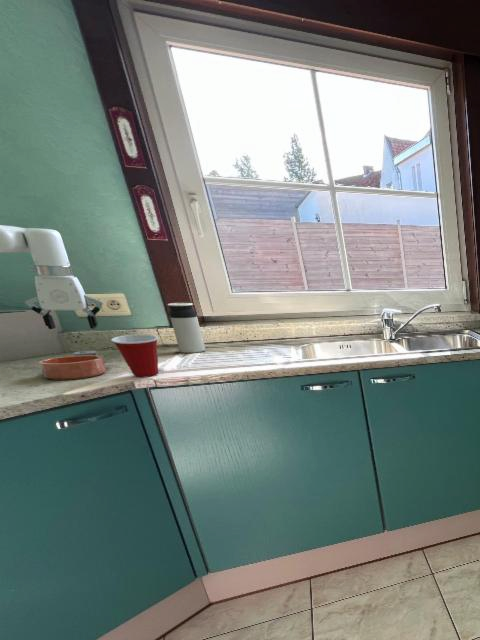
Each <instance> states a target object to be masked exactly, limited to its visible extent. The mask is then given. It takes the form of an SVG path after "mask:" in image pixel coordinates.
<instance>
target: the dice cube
mask: <svg viewBox="0 0 480 640" xmlns="http://www.w3.org/2000/svg"><path fill="white" fill-rule="evenodd" d="M82 355H94V356H99V355H98V352H97V350H85V351H83V350H81V351H74V353H73V356H82Z"/></svg>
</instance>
